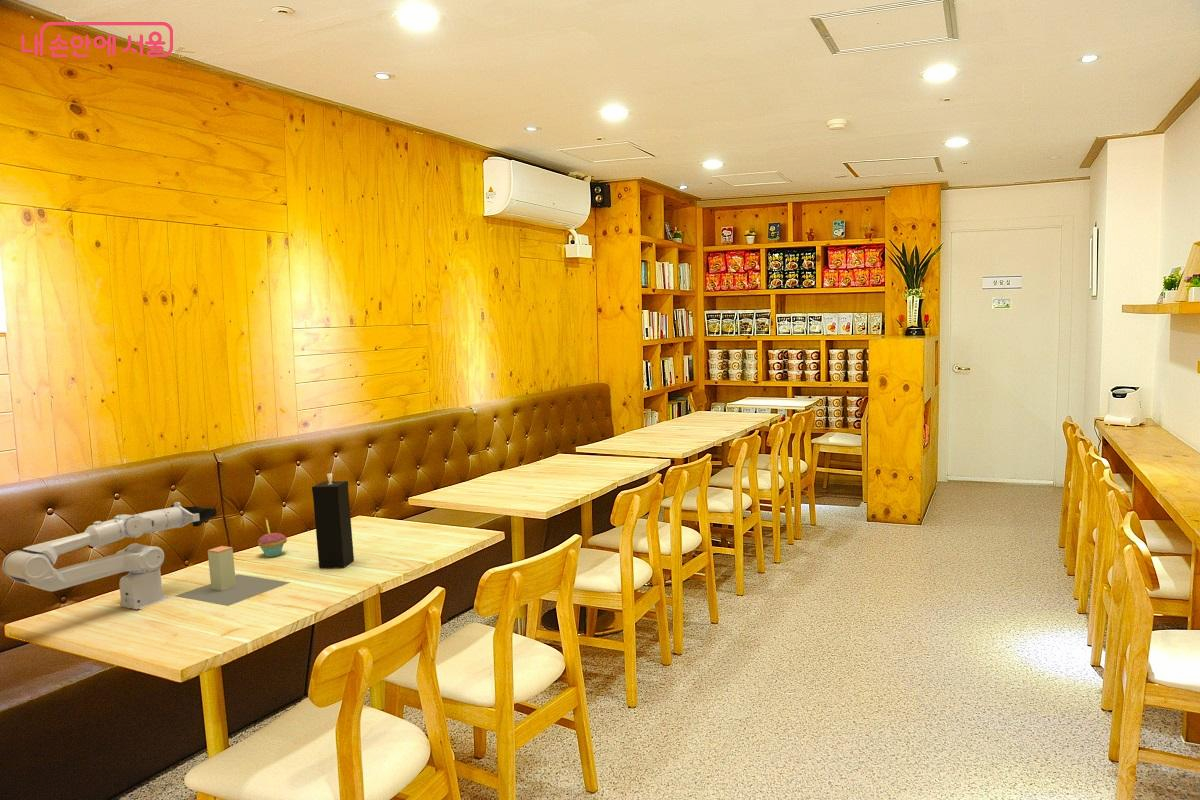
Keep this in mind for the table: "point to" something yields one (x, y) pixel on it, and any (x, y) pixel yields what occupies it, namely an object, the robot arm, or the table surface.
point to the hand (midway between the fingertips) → (207, 511)
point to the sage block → (221, 568)
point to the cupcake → (272, 543)
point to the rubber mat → (233, 590)
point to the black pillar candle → (333, 523)
